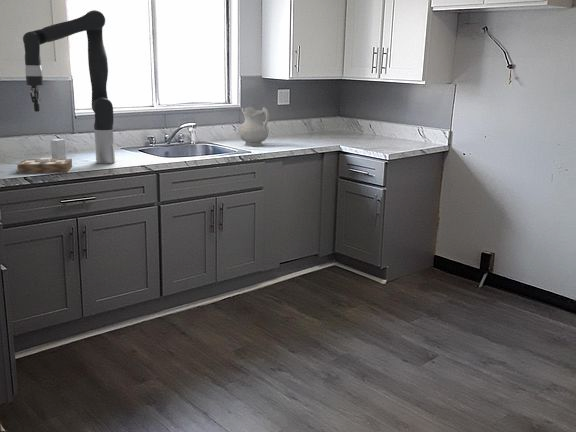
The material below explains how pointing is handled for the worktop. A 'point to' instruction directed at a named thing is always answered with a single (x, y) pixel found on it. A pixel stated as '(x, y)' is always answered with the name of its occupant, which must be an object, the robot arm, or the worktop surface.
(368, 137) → the worktop surface
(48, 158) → the button middle
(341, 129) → the worktop surface
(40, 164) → the button board
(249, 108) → the ceramic pitcher
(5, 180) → the worktop surface
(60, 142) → the skincare box
